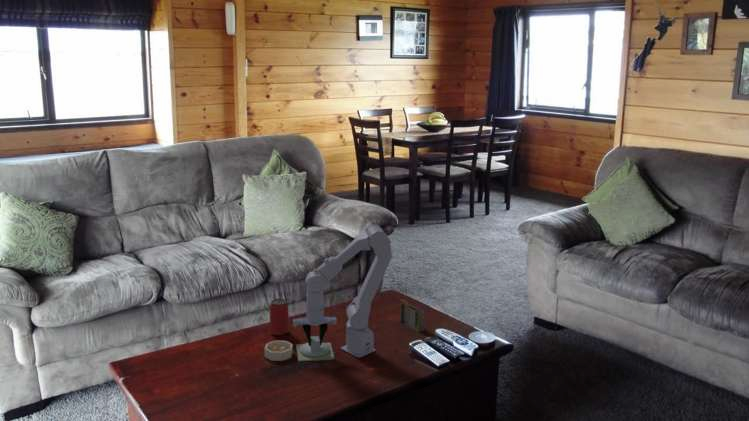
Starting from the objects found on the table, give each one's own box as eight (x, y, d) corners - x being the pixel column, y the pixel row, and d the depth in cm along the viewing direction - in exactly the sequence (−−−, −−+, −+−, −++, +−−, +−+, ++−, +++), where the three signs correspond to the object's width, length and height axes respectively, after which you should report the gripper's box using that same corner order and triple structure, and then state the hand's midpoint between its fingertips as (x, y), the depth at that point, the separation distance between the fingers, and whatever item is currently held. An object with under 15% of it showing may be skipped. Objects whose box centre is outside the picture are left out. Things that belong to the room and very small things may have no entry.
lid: (327, 343, 236) (327, 331, 235) (331, 356, 227) (331, 344, 226) (299, 344, 235) (299, 333, 233) (301, 357, 225) (301, 346, 224)
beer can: (290, 329, 249) (290, 298, 246) (286, 336, 242) (285, 305, 239) (272, 328, 249) (272, 297, 246) (268, 335, 243) (267, 304, 240)
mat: (330, 343, 238) (330, 342, 237) (334, 359, 226) (334, 358, 226) (296, 345, 235) (296, 344, 235) (298, 361, 224) (298, 360, 224)
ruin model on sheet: (399, 322, 258) (399, 298, 255) (405, 321, 259) (406, 297, 257) (417, 333, 249) (418, 308, 246) (423, 331, 250) (425, 307, 248)
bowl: (297, 354, 229) (297, 346, 228) (276, 363, 222) (276, 355, 222) (281, 346, 235) (281, 338, 234) (259, 354, 228) (259, 346, 228)
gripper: (294, 312, 222) (294, 350, 225) (338, 310, 224) (337, 348, 227) (292, 304, 228) (292, 341, 232) (335, 302, 231) (335, 339, 234)
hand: (314, 344), depth 230 cm, fingers closed on lid, 3 cm apart
